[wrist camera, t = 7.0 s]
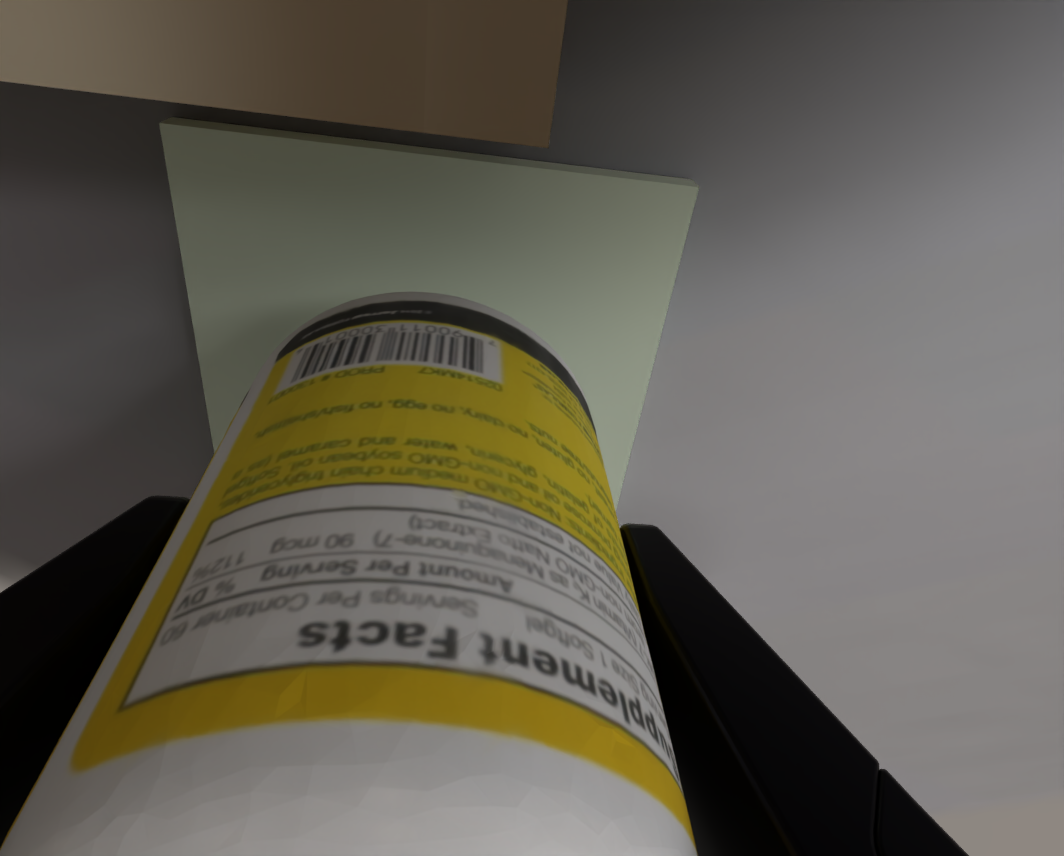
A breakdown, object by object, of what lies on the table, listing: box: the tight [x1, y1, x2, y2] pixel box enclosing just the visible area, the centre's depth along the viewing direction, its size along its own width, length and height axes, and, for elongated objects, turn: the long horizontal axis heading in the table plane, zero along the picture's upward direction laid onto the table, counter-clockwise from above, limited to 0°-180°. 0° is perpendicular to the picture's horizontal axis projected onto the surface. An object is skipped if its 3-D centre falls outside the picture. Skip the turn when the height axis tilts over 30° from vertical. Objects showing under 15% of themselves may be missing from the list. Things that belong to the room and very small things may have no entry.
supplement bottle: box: [0, 292, 698, 856], centre depth 6 cm, size 5×5×8 cm
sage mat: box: [159, 117, 699, 512], centre depth 11 cm, size 7×7×1 cm
